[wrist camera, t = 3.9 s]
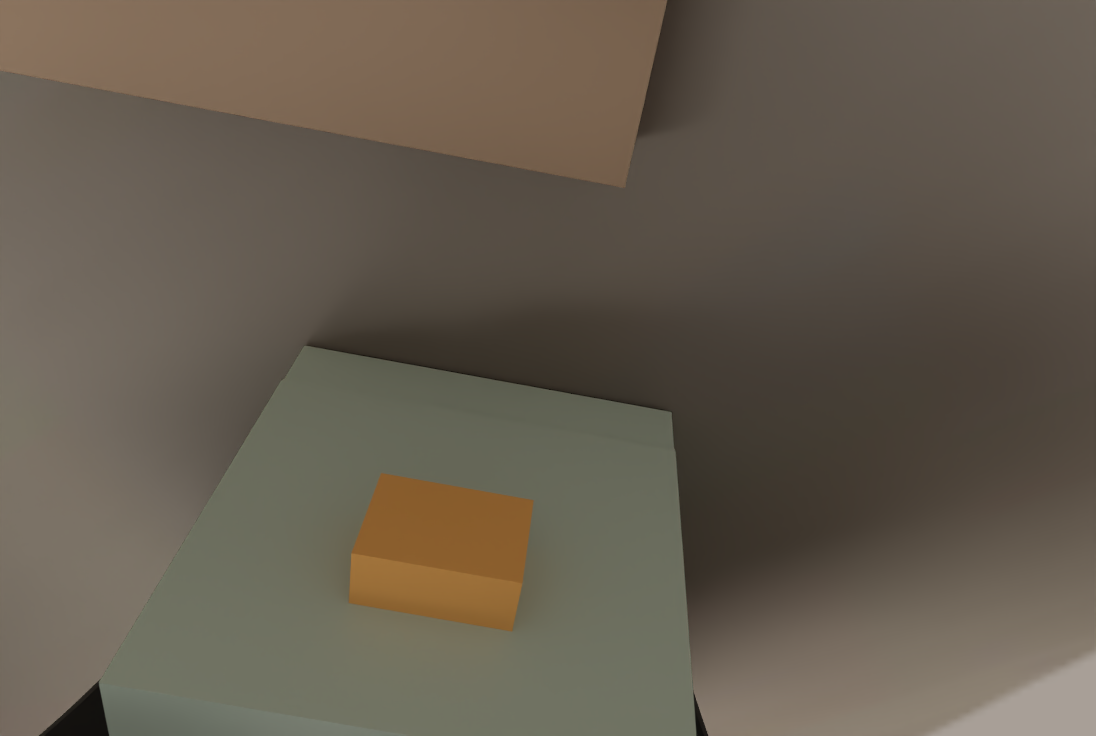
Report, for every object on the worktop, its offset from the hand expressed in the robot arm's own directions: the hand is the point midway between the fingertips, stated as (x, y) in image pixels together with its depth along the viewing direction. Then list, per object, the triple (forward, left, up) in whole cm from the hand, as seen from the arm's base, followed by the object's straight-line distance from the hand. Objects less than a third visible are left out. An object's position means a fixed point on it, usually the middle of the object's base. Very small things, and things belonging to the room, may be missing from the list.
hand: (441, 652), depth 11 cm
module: (0, 0, -1) cm, 1 cm away
